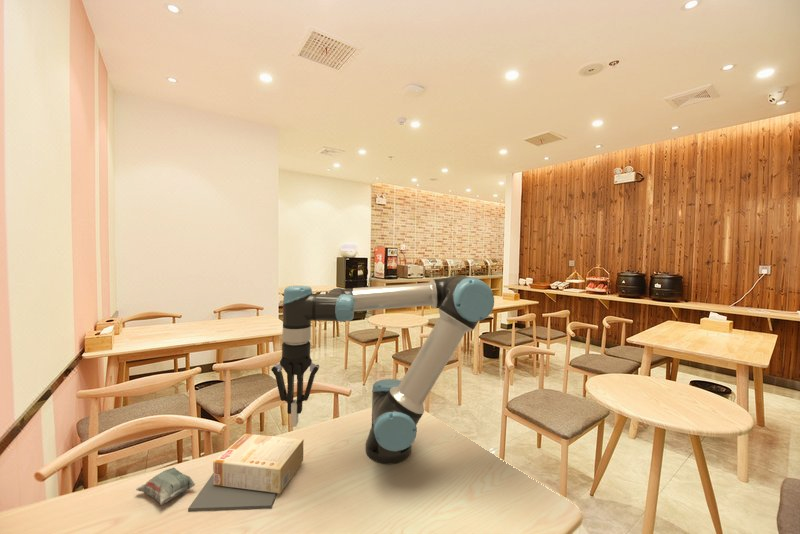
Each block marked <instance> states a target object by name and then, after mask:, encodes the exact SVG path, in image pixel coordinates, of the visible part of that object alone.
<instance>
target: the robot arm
mask: <svg viewBox="0 0 800 534" xmlns="http://www.w3.org/2000/svg"><path fill="white" fill-rule="evenodd" d="M429 306H430V307H432V308H433V309H438V312H439V318H438V320H437V321H436V323H435V324H434V326H433V327H432V330H431V331H430V333H429V334H428V335H427V338H426V339H425V341H424V343H422V346H421V347H420V349H419V351H418V352H417V354H416V356H415V357H414V359H413V361H412V363H410V365H409V367H408V369H407V371H406V372H405V374H404V376H403V377H402V379H401V380H400V379H394V378H392V379H391V378H386V379H380V380H377V381H375V382H374V383H372V390H371V392H372V396H371V397H372V398H371V399H372V400H371V427H370V430H369V433H368V436H367V439H366V441H365V454H366V456H367V457H369V459H371V460H372V461H374V462H377V463H380V464H386V465H387V464H389V465H392V464H397V463H401V462H403V461H405V460H407V458H409V457H410V455H411V453H412V444H413V443H414V442H415V439H416V437H417V432H418V430H417V429H418V428H417V425H418V423H419V421H421V418H422V416H423V415H424V412H425V408H424V402H425V401H426V399H427V397H428V396H429V393H430V392H431V390H432V389H433V387H434V386H435V385H436V382H437V380H438V379H439V377H440V376H441V374H442V373H443V371H444V369H445V367H446V366H447V364H448V363H449V361H450V359H451V358H452V356H453V354H454V352H455V351H456V349H457V347H458V346H459V344H460V343H461V341H462V339H463V337H464V335H466V333H469V332H472V331H474V330H475V328H476V326H477V325H478V323H479V322H481V321H483V320H485V319H486V318H488V317H489V316H490V314H491V313H492V312H493V310H494V306H495V295H494V293H493V290H492V289H491V287H490V286H489V285H488V283H486V282H485V281H482V279H479V278H477V277H470V276H466V275H454V276H448V277H443V278H437V279H436V278H432V279H431V280H429V281H428V282H421V283H418V282H417V283H406V284H405V283H404V284H393V285H392V284H391V285H390V284H389V285H379V286H378V285H377V286H365V287H353V288H340V287H337V288H333V289H331V290H330V291H328V292H327V293H313V290H312V287H311V286H307V285H305V286H304V285H291V286H287V287H285V288H284V290H283V301H282V335H281V337H282V338H281V339H282V343H281V344H282V346H281V359H280V361H279V363H277V364H274V365H273V366H272V367H271V369H270V370H271V372H272V373H273V375H274V377H275V381H276V386H277V390H278V393H279V398H280V401H282V402H286V403H287V410H286V411H287V414H288V415H290V428H292V427H293V428H295V427H298V423H299V415H300V414H301V413H302V411H303V402H306V401H308V400H309V397H310V394H311V391H312V387H313V383H314V379H315V377H316V374H317V372H318V371H319V369H320V365H319V364H315V363H313V360H312V358H311V342H310V340H311V331H312V330H311V329H312V328H311V325H312V323H311V322H313V321H316V322H322V321H323V322H339V323H342V322H350V321H353V319H354V317H355V316H354V314H355V312H364V311H366V312H367V311H377V310H390V309H391V310H392V309H402V308H417V307H429ZM308 369H309V372H310V374H309V376H308V380H307V384H306V388H305V391H304V375H305V373H306V371H307V370H308ZM282 370H283V371H284V372H285V373H286V374H287V375H286V376H287V387H286V384H285V379H284V375H283V372H282ZM295 376H296V399H295V395H294V393H295V392H294V391H295V390H294V389H295Z"/></svg>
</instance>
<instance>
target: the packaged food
mask: <svg viewBox="0 0 800 534" xmlns="http://www.w3.org/2000/svg"><path fill="white" fill-rule="evenodd" d="M195 486H196V483H195V482H194V481H193V479H192V478H191V477H190V476H189V475H186V474H184V473H183V472H181V471H179V470H178V469H177V468H175V467H171V468H168V469H165V470H163V471H161V472H160V473H158V474H156V475H154V476H153V477H152V478H150V479H149V480H148V481H146V483H144V484H142V485H141V486H138V487H137V488H136V489H135V490H136V491H138V492H142V493H143V494H144V495H147V496H149V497H152V498H154V499H155V500H156V501H157V502H158V503H159V504H160V505H161V506H162V505H164V504H167V503H168V502H169V501H171V500H173V499H174V498H176V497H177V496H179V495H181V494H183V493H185V492H187V491H189V490H190V489H191V488H192V487H195Z"/></svg>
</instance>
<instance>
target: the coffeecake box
mask: <svg viewBox="0 0 800 534" xmlns="http://www.w3.org/2000/svg"><path fill="white" fill-rule="evenodd" d="M304 440H305V439H302V438H291V437H284V436H283V437H281V436H273V435H263V434H255V433H244V434H242V435H241V436H240V437H239V438H238V439H237V440H235V442H234V443H233V444H231V445H230V446H229V447H228V448H227V449H226V450H224V451H223V452H222V453H221V454H220V455H219V456H218V457H216V458H215V459H214V460H213V463H212V466H213V467H212V470H213V473H212V474H213V485H218V486H226V487H233V488H242V489H249V490H257V491H265V492H273V493H277V494H281V493H282V491H283V490H284V488H285V487H286V485H287V484H288V483H289V482H290V480H291V479H292V477H293V476H294V474H295V473H296V472H297V470H298V469H299V467H301V464H302V463H303V461H304Z"/></svg>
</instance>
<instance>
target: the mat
mask: <svg viewBox="0 0 800 534" xmlns="http://www.w3.org/2000/svg"><path fill="white" fill-rule="evenodd" d="M277 494H278V493H273V492H265V491H257V490H249V489H242V488H233V487H226V486H218V485H213V473H212V474H211V476H210V477H209V478H208V480H207V481H206V482H205V484H204V486H203V487H202V488H201V489H200V491H199V492H198V494H197V495H196V497H195V498H194V499H193V501H192V503H191V504H190V505H189V507H188V508H187V512H189V513H190V512H208V511H209V512H212V511H238V510H242V511H243V510H261V509H262V510H264V509H265V510H267V509H272V507H273V505H274V502H275V499H276V497H277Z"/></svg>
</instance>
